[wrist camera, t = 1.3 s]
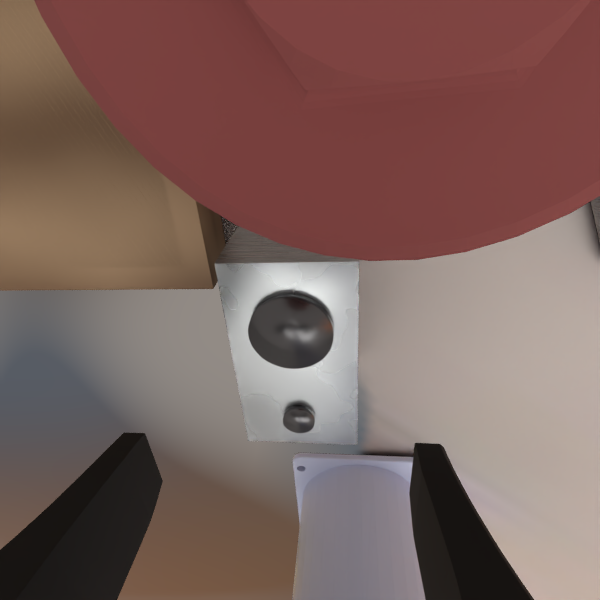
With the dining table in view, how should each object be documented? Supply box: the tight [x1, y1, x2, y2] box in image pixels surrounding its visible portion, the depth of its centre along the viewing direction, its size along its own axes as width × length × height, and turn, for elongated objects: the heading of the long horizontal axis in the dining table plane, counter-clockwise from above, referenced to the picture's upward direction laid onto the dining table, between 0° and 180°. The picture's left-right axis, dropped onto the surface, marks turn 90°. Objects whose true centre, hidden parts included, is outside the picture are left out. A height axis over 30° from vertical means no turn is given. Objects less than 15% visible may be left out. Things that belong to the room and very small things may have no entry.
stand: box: [0, 0, 226, 290], centre depth 16 cm, size 11×11×2 cm
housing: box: [215, 226, 359, 445], centre depth 17 cm, size 8×4×6 cm, turn 4°
